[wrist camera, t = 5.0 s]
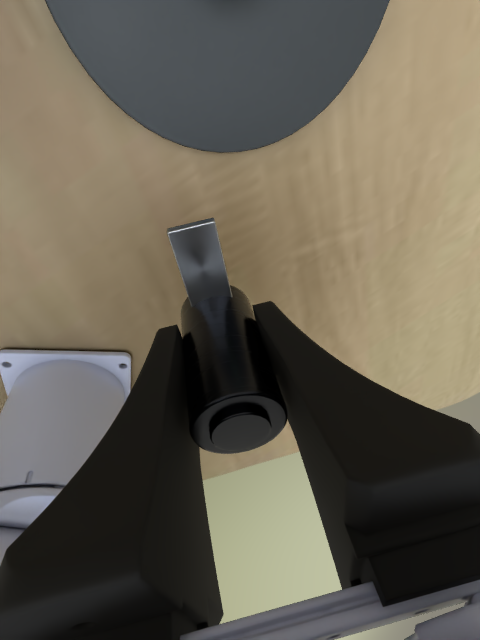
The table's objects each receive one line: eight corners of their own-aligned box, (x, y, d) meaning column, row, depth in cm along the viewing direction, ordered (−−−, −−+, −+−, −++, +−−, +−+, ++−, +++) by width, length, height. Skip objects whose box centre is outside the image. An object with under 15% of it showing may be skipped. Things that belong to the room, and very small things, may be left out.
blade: (262, 370, 15) (299, 486, 11) (205, 385, 15) (221, 507, 11) (230, 205, 10) (275, 303, 6) (146, 225, 10) (136, 338, 6)
